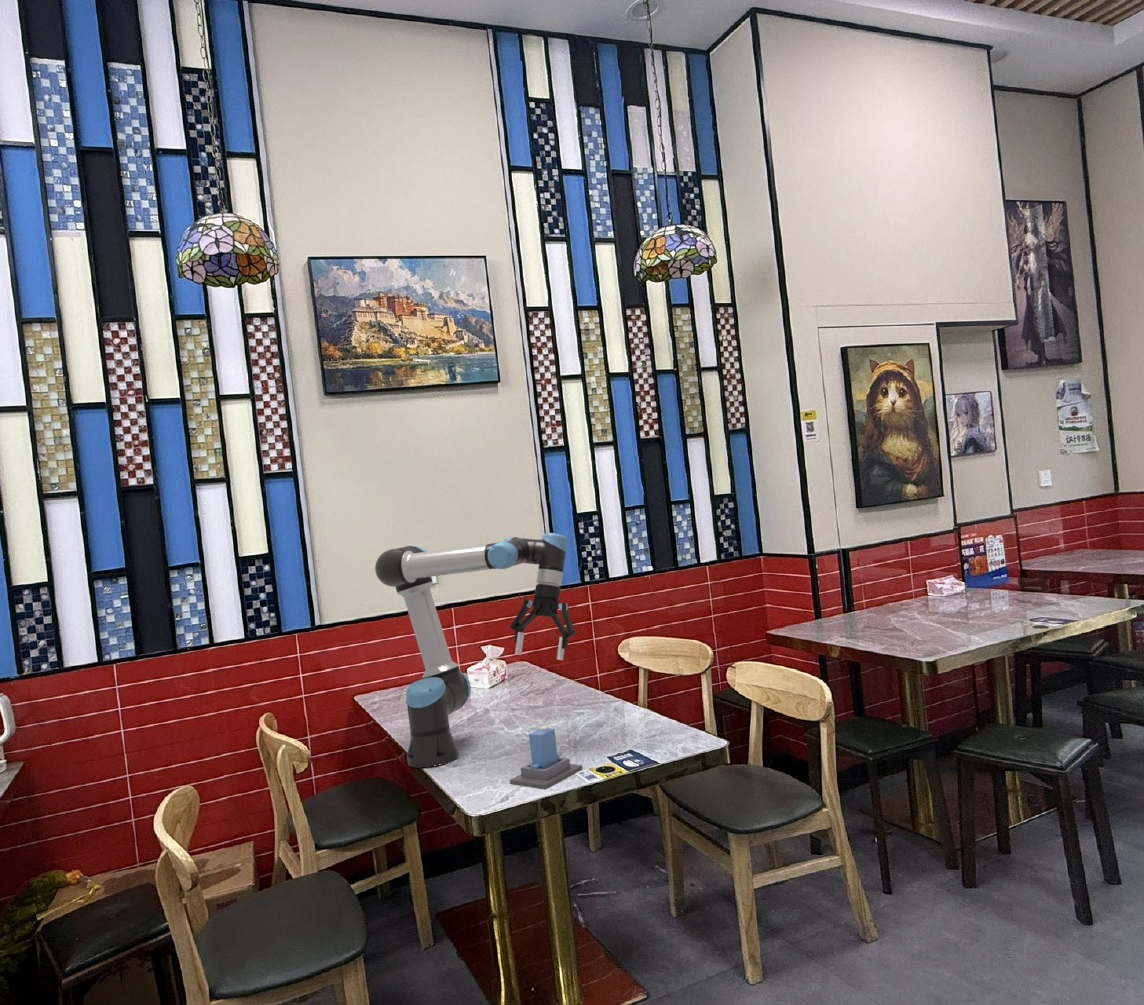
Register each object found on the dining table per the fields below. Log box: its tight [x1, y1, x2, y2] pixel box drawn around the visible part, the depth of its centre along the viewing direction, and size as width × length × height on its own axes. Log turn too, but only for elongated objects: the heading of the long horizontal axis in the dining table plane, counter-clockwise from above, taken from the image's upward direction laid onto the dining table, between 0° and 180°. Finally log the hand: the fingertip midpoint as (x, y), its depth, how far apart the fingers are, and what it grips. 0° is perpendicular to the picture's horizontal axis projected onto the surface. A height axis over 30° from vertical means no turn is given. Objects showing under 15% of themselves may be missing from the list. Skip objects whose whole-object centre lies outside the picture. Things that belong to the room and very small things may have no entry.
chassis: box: [509, 756, 583, 790], centre depth 221 cm, size 16×12×4 cm
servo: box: [528, 725, 560, 769], centre depth 221 cm, size 10×4×12 cm, turn 143°
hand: (538, 657), depth 243 cm, fingers open, 13 cm apart
